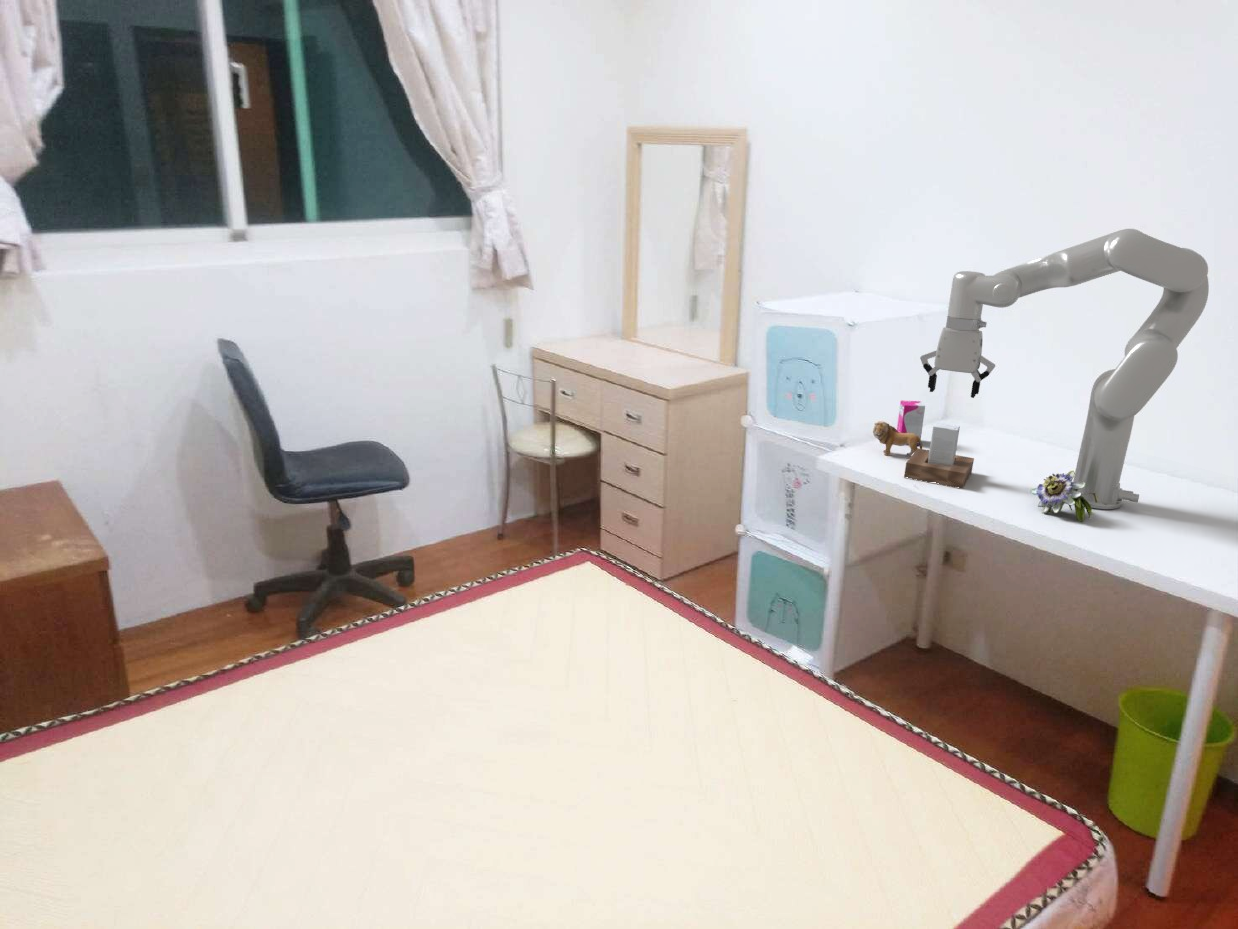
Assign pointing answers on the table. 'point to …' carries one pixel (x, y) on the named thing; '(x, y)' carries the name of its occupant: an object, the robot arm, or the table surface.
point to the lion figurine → (895, 438)
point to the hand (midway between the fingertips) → (952, 393)
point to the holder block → (939, 469)
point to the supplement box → (911, 417)
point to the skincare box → (943, 444)
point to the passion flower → (1063, 494)
